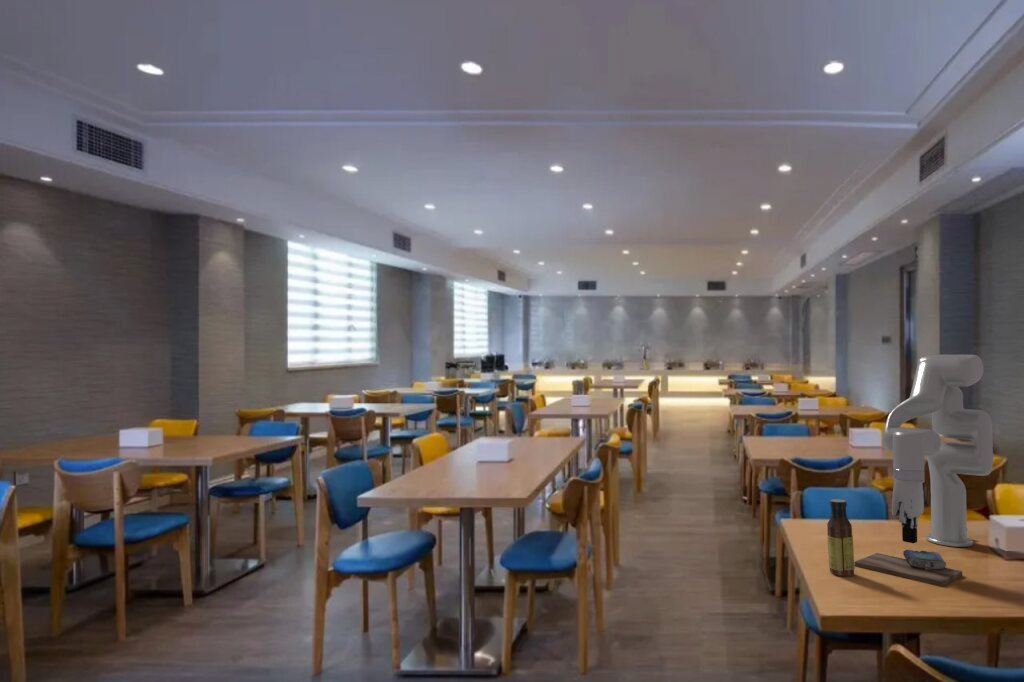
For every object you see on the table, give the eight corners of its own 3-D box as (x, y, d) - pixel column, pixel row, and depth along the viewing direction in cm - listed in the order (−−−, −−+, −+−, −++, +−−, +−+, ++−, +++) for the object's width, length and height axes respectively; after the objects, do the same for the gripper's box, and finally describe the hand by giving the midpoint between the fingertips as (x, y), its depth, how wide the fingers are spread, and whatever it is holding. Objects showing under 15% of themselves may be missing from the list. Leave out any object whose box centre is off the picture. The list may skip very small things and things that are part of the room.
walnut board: (876, 556, 199) (876, 552, 199) (962, 575, 182) (962, 571, 182) (854, 566, 190) (854, 561, 190) (942, 586, 173) (941, 581, 173)
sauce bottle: (852, 571, 185) (851, 498, 186) (856, 578, 179) (855, 503, 180) (826, 569, 187) (825, 497, 188) (829, 576, 181) (828, 501, 182)
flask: (940, 552, 190) (947, 562, 180) (940, 562, 190) (947, 573, 180) (902, 548, 193) (907, 558, 184) (902, 558, 193) (907, 569, 184)
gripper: (905, 471, 195) (906, 534, 195) (882, 476, 186) (883, 543, 186) (934, 474, 190) (935, 540, 189) (912, 480, 180) (913, 549, 180)
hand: (909, 541), depth 187 cm, fingers closed
